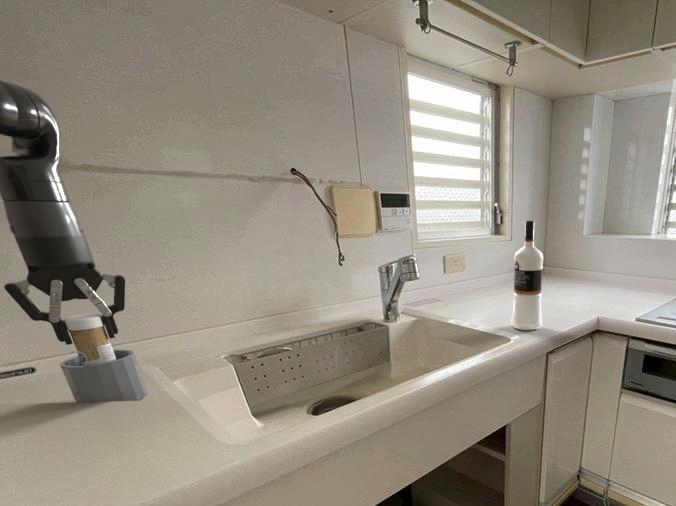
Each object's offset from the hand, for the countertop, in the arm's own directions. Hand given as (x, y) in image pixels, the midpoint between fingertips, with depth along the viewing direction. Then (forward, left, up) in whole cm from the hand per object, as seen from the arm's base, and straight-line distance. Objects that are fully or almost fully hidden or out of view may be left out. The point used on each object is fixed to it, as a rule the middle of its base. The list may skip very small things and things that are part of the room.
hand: (90, 339), depth 68 cm
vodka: (+81, +47, -11) cm, 94 cm away
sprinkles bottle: (0, 0, -10) cm, 10 cm away
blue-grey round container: (0, 0, -11) cm, 11 cm away
